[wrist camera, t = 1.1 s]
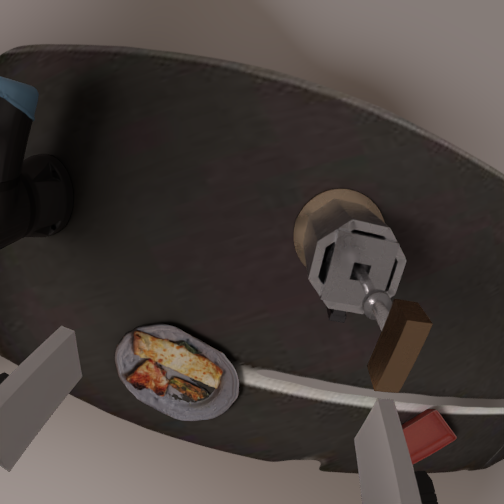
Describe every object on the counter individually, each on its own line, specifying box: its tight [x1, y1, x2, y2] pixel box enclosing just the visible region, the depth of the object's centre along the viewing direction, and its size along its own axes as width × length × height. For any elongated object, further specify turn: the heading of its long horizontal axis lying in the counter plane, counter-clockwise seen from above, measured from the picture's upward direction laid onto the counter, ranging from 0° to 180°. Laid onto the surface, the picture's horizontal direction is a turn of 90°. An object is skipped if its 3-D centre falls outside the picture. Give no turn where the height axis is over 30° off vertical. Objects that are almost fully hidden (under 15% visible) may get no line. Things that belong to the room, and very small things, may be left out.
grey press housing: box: [294, 188, 407, 323], centre depth 41 cm, size 14×15×15 cm
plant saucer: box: [401, 409, 457, 465], centre depth 60 cm, size 18×18×3 cm
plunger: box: [325, 232, 433, 393], centre depth 28 cm, size 7×7×19 cm
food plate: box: [114, 324, 239, 421], centre depth 58 cm, size 25×23×4 cm
